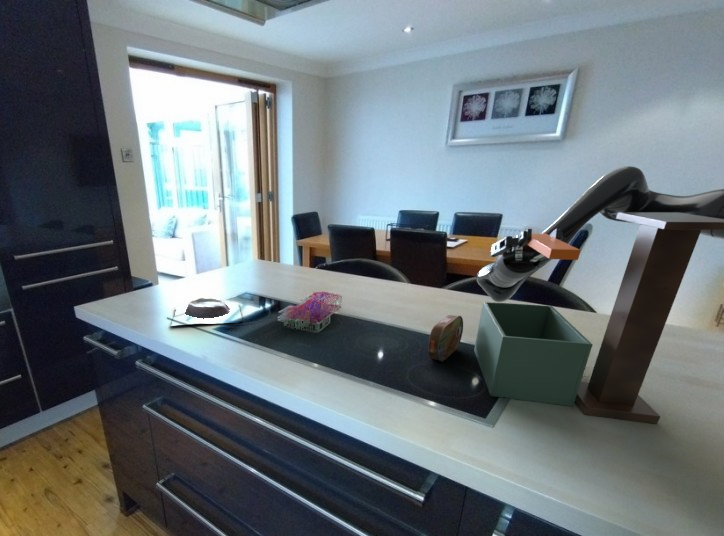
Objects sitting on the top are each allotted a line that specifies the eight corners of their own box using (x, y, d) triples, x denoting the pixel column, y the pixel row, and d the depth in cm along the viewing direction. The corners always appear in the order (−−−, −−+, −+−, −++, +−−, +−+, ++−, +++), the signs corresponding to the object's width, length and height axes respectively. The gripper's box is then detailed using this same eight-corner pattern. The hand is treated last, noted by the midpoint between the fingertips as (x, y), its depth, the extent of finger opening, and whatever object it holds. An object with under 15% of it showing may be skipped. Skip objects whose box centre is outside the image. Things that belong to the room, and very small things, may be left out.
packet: (544, 241, 77) (546, 233, 77) (578, 260, 62) (580, 249, 61) (521, 241, 79) (523, 233, 78) (549, 259, 63) (551, 249, 62)
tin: (437, 367, 84) (442, 330, 81) (423, 362, 86) (427, 327, 83) (461, 345, 94) (467, 312, 91) (448, 342, 96) (453, 309, 93)
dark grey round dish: (169, 328, 110) (168, 315, 108) (176, 306, 128) (174, 295, 127) (243, 323, 112) (242, 310, 111) (239, 302, 131) (238, 291, 129)
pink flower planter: (312, 298, 133) (312, 283, 131) (354, 303, 126) (355, 288, 124) (267, 326, 109) (266, 308, 107) (316, 335, 102) (316, 316, 100)
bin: (538, 356, 87) (552, 305, 83) (573, 406, 69) (592, 344, 64) (474, 350, 91) (483, 301, 86) (490, 396, 73) (502, 336, 68)
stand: (622, 388, 74) (686, 212, 62) (664, 431, 62) (754, 222, 49) (560, 381, 77) (610, 212, 64) (589, 421, 64) (657, 221, 52)
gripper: (482, 246, 91) (502, 214, 75) (552, 248, 87) (590, 214, 71) (479, 277, 90) (499, 251, 74) (550, 280, 86) (588, 254, 70)
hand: (543, 233), depth 72 cm, fingers closed on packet, 4 cm apart
